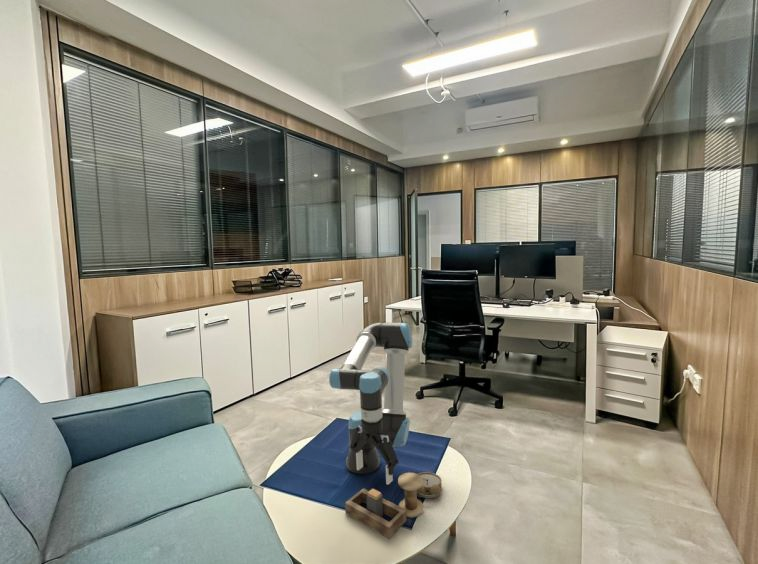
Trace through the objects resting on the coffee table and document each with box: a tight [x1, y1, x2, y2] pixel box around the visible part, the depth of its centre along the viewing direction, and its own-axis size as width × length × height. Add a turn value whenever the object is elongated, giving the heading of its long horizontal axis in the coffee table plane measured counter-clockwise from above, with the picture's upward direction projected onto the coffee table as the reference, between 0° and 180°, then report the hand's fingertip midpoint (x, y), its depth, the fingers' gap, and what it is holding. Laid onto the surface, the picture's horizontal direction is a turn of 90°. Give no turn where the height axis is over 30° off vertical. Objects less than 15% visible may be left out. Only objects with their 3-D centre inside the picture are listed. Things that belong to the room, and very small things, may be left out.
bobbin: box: [397, 472, 424, 518], centre depth 132 cm, size 9×9×11 cm
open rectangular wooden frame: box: [344, 488, 407, 539], centre depth 129 cm, size 20×10×4 cm, turn 51°
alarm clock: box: [417, 471, 443, 499], centre depth 142 cm, size 11×5×15 cm
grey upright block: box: [366, 488, 384, 518], centre depth 128 cm, size 4×4×9 cm
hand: (374, 475), depth 128 cm, fingers open, 13 cm apart
